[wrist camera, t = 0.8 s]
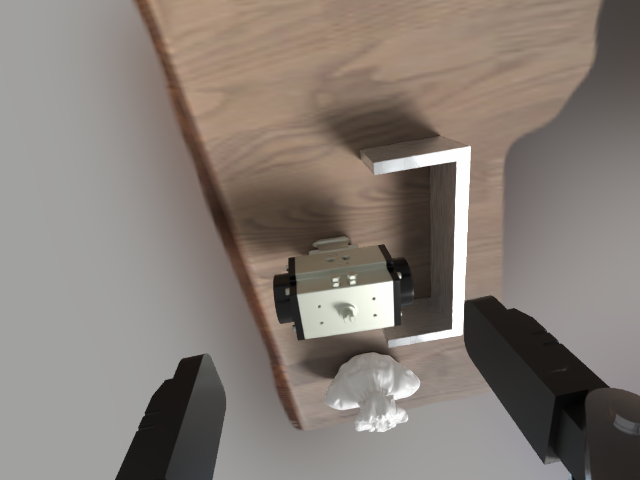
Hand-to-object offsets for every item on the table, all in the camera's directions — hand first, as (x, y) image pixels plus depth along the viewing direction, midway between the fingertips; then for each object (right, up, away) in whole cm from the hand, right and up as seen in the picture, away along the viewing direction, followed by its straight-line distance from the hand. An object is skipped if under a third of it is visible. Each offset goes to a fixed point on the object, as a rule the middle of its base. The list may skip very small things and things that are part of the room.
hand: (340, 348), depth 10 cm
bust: (+5, -13, +34) cm, 37 cm away
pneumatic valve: (+1, +3, +26) cm, 27 cm away
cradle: (+9, +4, +26) cm, 28 cm away
